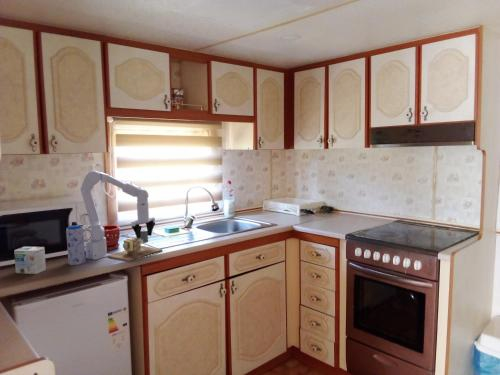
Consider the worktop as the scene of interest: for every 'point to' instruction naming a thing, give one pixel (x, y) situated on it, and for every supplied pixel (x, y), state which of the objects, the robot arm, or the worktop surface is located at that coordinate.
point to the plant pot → (111, 236)
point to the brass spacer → (129, 245)
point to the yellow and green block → (143, 239)
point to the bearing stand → (134, 251)
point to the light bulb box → (30, 260)
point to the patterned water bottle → (75, 244)
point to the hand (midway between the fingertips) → (144, 236)
